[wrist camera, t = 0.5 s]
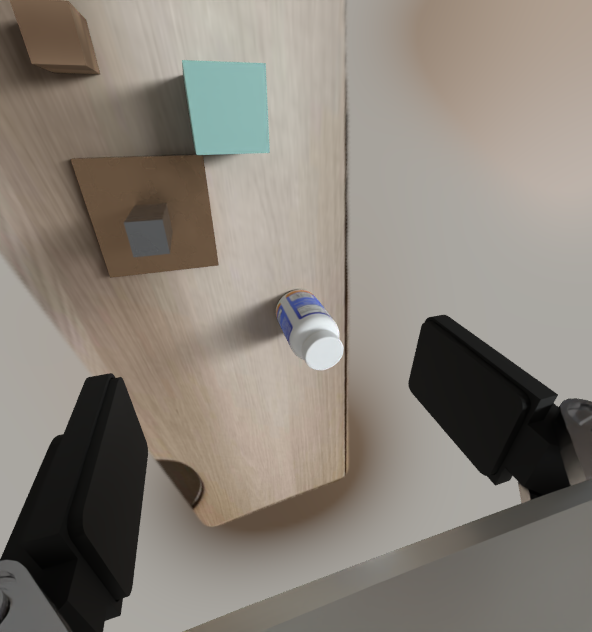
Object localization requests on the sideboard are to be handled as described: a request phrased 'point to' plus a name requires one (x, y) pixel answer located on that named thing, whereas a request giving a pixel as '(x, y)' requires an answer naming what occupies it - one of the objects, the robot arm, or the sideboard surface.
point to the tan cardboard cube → (55, 36)
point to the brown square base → (149, 212)
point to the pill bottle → (309, 329)
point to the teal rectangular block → (227, 106)
